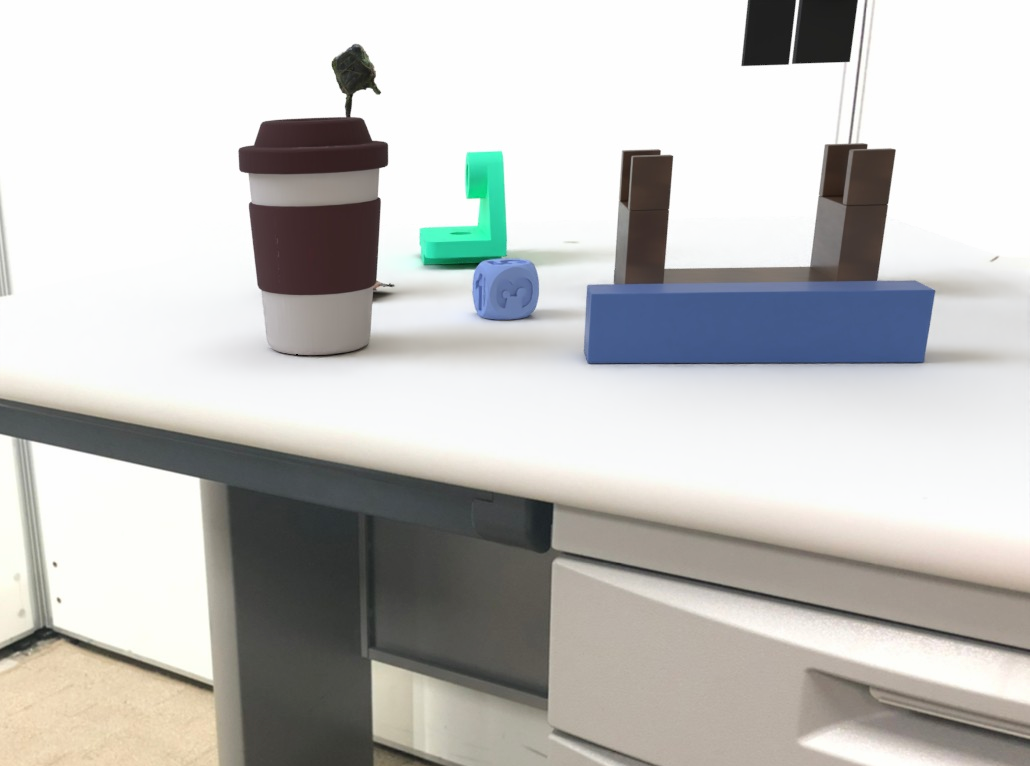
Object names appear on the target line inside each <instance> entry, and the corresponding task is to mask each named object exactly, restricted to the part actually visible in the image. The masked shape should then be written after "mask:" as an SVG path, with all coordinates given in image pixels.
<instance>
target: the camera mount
mask: <svg viewBox="0 0 1030 766" xmlns="http://www.w3.org/2000/svg"><path fill="white" fill-rule="evenodd" d="M464 166H465V167H464V187H465V188H464V189H465V197H466V198H465V199H466V200H476V199H479V205H478V216H477V217H478V218H477V225H457V226H431V227H420V228H419V247H420V259H421V262H422V264H423V265H424V266H426V265H427V266H428V265H458V264H480V263H481V262H482V261H485V260H492V259H503V257H507V253H508V234H507V233H508V232H507V231H508V230H507V210H506V187H505V186H506V185H505V167H504V154H503V151H502V150H493V151H467V152H466V156H465V165H464Z"/></svg>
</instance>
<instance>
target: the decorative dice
mask: <svg viewBox="0 0 1030 766" xmlns="http://www.w3.org/2000/svg"><path fill="white" fill-rule="evenodd" d="M473 272H474V273H473V275H472V299H473V305H474V309H475V312H476V314H477V315H478V316H479V317H481V318H483V319H488V320H499V321H501V320H502V321H503V320H504V321H509V320H520V319H526V318H528V317H529V316H531V314H533V313H534V311H535V310H536V308H537V306H538V302H539V297H540V279H539V274H538V271H537V267H536V265H535V264H534V262H533V261H532V260H529V259H523V258H502V259H492V260H485V261H482V262H481V263H478V265H477V266H476V267H475V269H474V271H473Z"/></svg>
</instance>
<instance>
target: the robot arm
mask: <svg viewBox="0 0 1030 766" xmlns="http://www.w3.org/2000/svg"><path fill="white" fill-rule="evenodd" d="M858 3H859V0H798V7H797V17H796V26H795V33H794V42H793V41H792V40H793V30H794V24H795V23H794V22H795V13H796V4H797V0H747V4H746V5H747V6H746V15H745V25H744V34H743V45H742V53H741V54H742V55H741V63H740V64H741V65H740V66H741V67H755V66H756V67H757V66H758V67H760V66H787V65H790V59H791V49H792V42H793V50H792V59H791V64H792V65H800V64H801V65H802V64H803V65H804V64H805V65H806V64H831V63H834V64H835V63H851V56H852V48H853V41H854V33H855V26H856V18H857V11H858V10H857V9H858Z"/></svg>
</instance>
